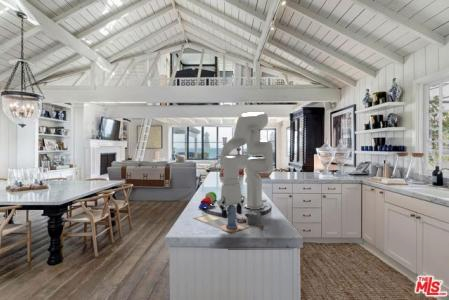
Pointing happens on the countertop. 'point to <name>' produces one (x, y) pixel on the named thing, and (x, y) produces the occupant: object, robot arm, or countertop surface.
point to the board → (219, 223)
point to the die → (254, 218)
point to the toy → (208, 200)
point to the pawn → (231, 217)
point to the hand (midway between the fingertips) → (231, 215)
